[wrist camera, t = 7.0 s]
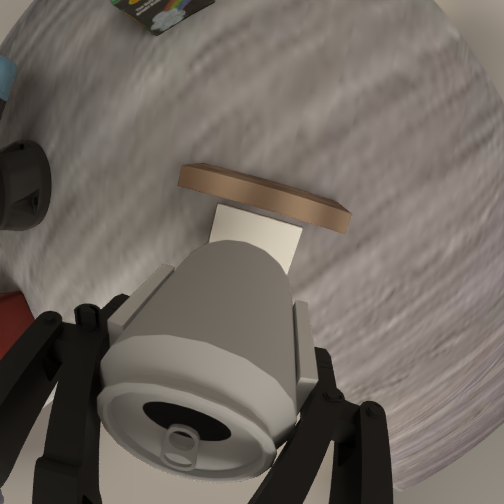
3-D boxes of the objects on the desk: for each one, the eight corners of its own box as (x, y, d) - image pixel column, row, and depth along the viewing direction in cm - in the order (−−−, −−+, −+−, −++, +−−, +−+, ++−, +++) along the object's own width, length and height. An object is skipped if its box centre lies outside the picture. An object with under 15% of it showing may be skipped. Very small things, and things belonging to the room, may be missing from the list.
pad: (201, 278, 35) (200, 280, 35) (219, 203, 32) (217, 203, 31) (276, 300, 35) (276, 302, 35) (302, 227, 32) (302, 228, 31)
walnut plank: (198, 179, 31) (177, 185, 25) (202, 163, 31) (182, 165, 24) (332, 218, 31) (344, 234, 25) (337, 202, 31) (352, 214, 24)
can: (307, 254, 17) (341, 417, 6) (272, 347, 20) (258, 502, 8) (189, 221, 17) (59, 329, 6) (173, 319, 20) (95, 451, 8)
